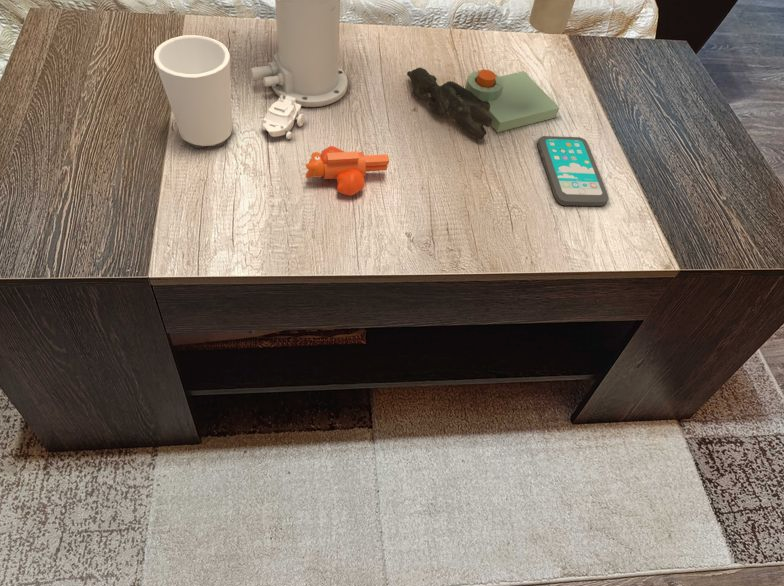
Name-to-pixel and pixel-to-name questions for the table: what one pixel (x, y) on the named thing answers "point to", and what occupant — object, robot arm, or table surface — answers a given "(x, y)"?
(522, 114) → the scale
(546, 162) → the smartphone
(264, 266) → the table surface
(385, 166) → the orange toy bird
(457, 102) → the statue
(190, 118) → the cup
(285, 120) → the toy car
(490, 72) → the button
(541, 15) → the candle
